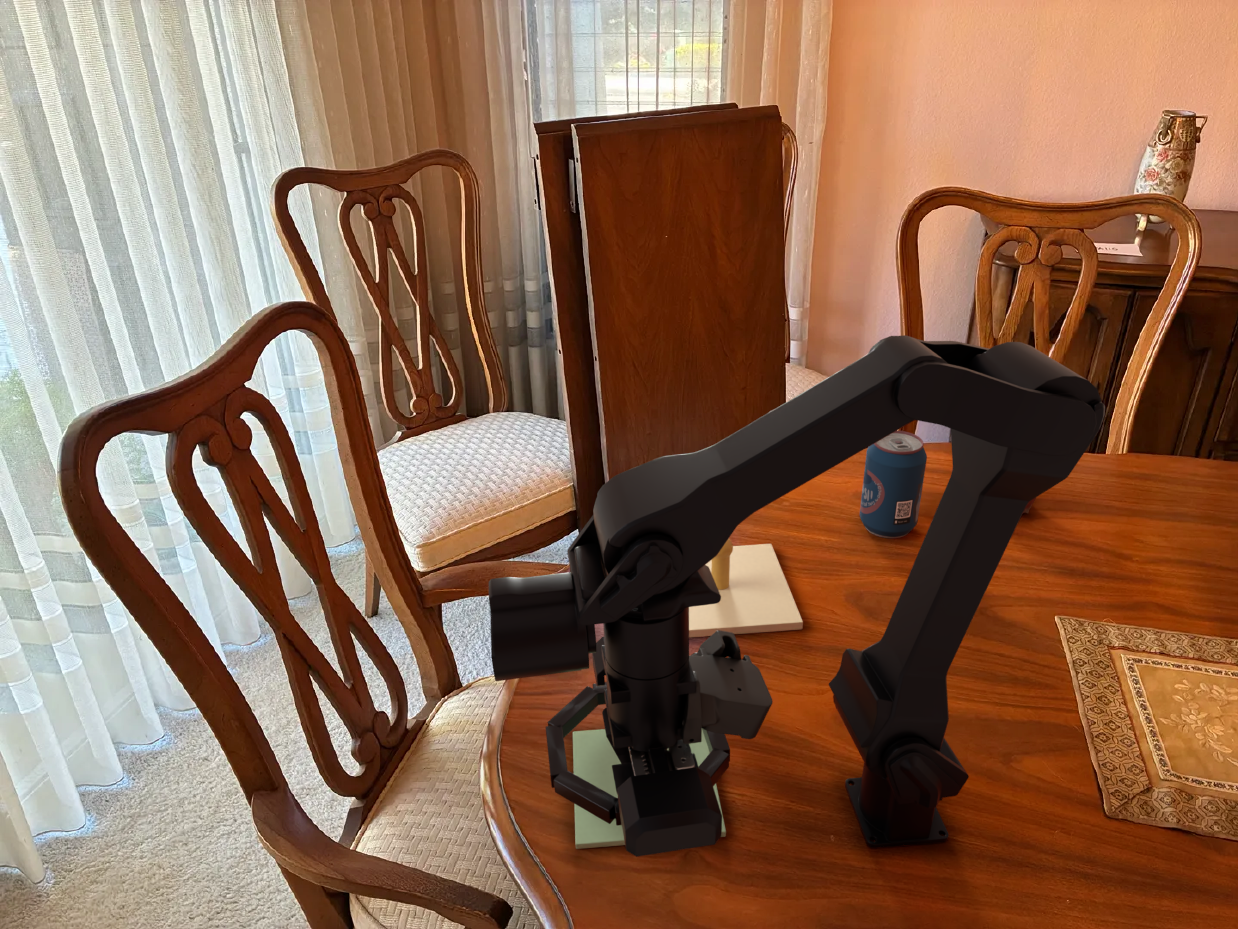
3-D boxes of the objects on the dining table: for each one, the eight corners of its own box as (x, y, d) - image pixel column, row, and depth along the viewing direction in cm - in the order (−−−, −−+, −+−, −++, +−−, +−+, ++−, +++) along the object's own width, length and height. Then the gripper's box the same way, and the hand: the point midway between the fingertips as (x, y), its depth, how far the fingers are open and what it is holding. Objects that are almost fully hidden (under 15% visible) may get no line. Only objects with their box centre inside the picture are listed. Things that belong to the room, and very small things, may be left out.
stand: (802, 629, 90) (807, 572, 87) (661, 639, 90) (660, 583, 86) (770, 550, 104) (773, 498, 100) (647, 558, 103) (646, 506, 100)
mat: (726, 837, 68) (726, 832, 68) (575, 849, 68) (575, 844, 68) (703, 726, 79) (703, 721, 79) (573, 736, 78) (572, 731, 78)
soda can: (849, 515, 110) (858, 431, 104) (900, 508, 111) (912, 425, 105) (872, 544, 104) (883, 457, 98) (926, 537, 105) (940, 450, 99)
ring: (745, 806, 66) (746, 793, 65) (556, 835, 64) (554, 822, 63) (701, 680, 79) (701, 668, 78) (543, 702, 77) (541, 690, 76)
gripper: (808, 736, 51) (793, 904, 58) (727, 560, 67) (723, 709, 74) (622, 763, 50) (631, 931, 57) (586, 577, 66) (596, 726, 73)
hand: (651, 810), depth 65 cm, fingers closed on ring, 1 cm apart
